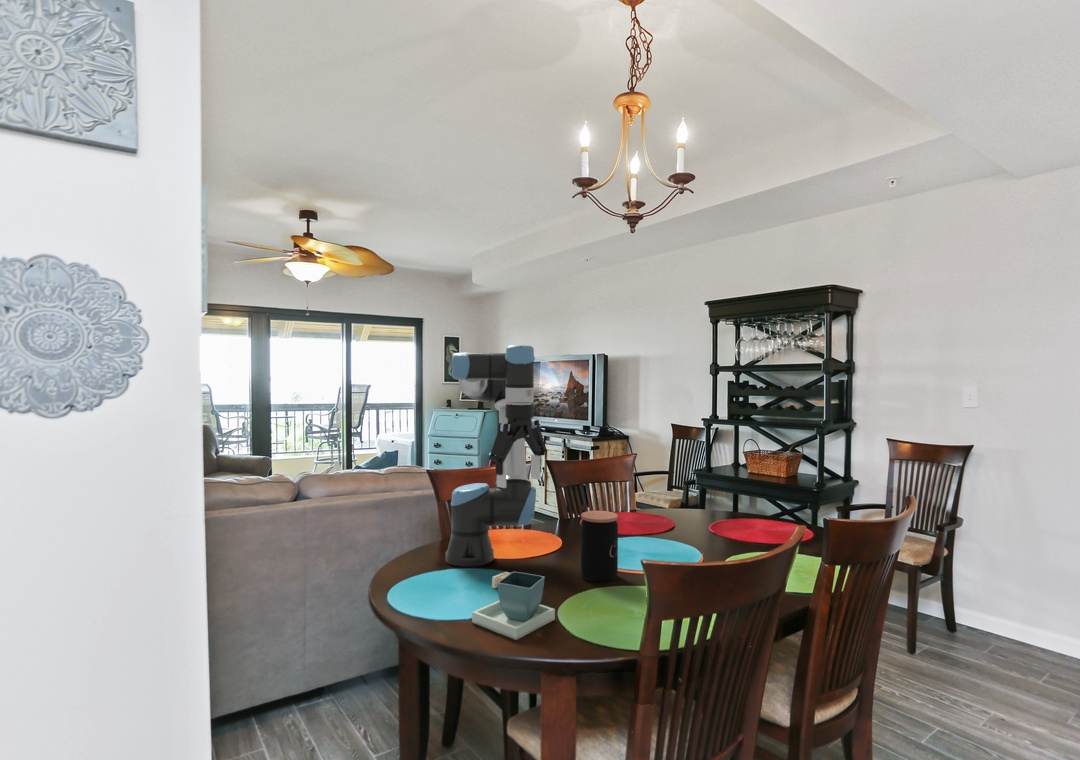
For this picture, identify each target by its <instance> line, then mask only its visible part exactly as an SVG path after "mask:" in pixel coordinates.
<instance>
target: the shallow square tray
mask: <svg viewBox="0 0 1080 760" xmlns="http://www.w3.org/2000/svg"><path fill="white" fill-rule="evenodd" d="M555 618H556V609H555V608H553V607H549V606H547V605H544V604H541V603H540V605H539V607H538V609H537V610H536V612H535V614H534V615H533V616H532V617H531V618H530V619H529V620H528V621H526V622H524V621H519V620H515V619H510V618H507V617H506V615H505V614H504V612H503V610H502V608H501V605H500V601H499V600H496V601H495V602H492V603H490V604H488V605H486V606H482V607H481V608H479V609H476V610H474V611H472V612H471V623H472V624H474V625H477V626H479V627H481V628H484V629H487V630H489V631H492V632H493V633H494V632H495V633H497V634H500V635H501V636H505V637H507V638H509V639H512V640H514V641H517V640H519V639H521V638H523V637H525V636H526V635H527V636H528V635H529V634H531V633H532V632H534V631H536V630H538V629H540V628H542V627H544V626H546V625H548V624H549V623H551V622H552V621H553V622H554V621H555V620H556V619H555Z"/></svg>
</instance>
